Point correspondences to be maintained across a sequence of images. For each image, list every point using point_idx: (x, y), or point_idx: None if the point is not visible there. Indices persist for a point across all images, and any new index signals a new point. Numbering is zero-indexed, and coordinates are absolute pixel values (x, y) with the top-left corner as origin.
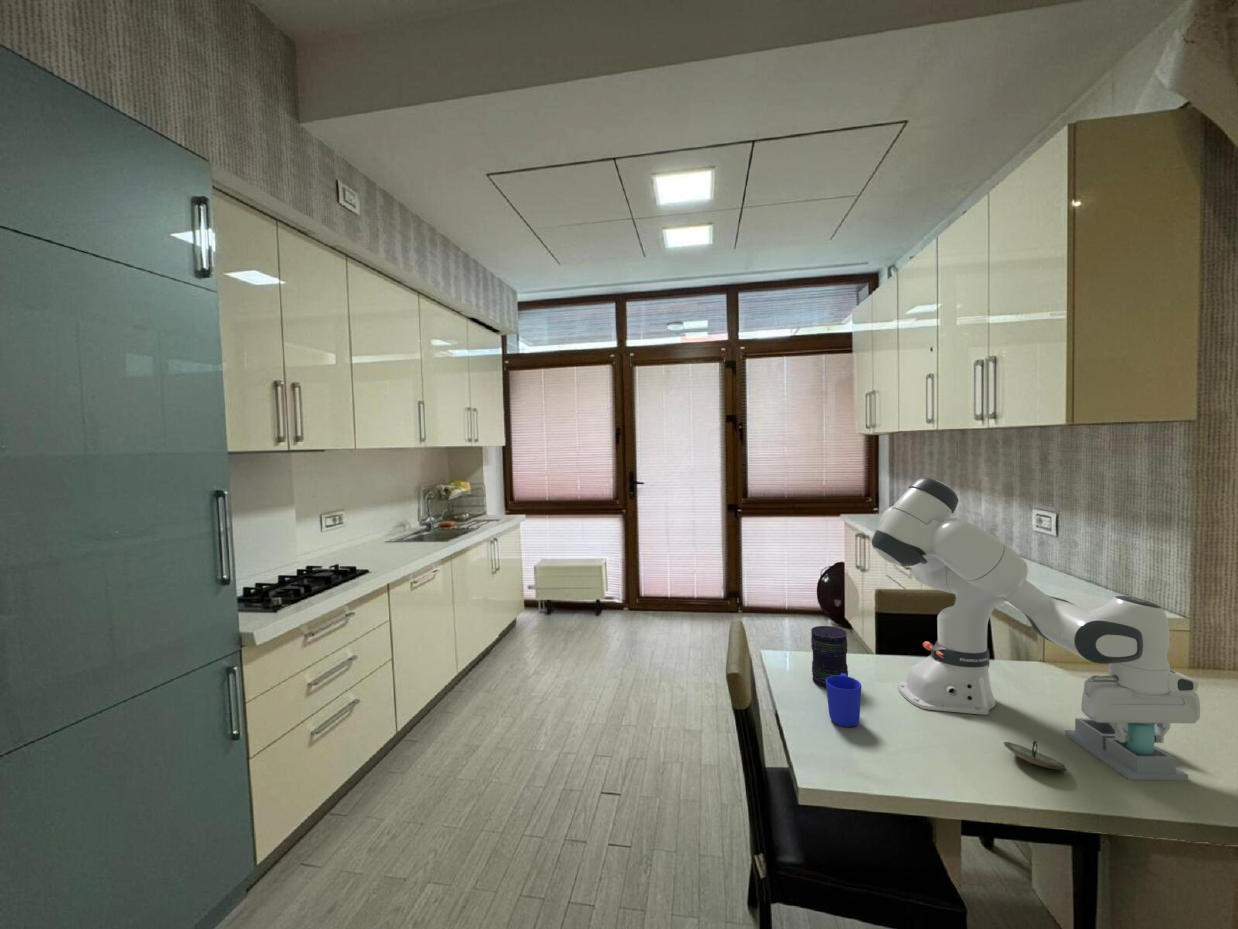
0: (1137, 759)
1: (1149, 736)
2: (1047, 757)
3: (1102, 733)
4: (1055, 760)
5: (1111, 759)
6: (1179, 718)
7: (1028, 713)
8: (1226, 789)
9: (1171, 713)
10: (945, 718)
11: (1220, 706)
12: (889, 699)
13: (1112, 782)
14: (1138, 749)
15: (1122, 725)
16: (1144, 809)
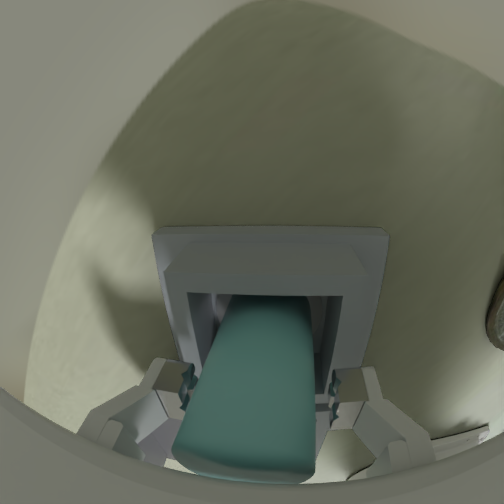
0: (363, 272)
1: (250, 390)
2: (496, 319)
3: (317, 420)
4: (496, 307)
5: (361, 323)
6: (22, 436)
7: (330, 459)
8: (89, 189)
9: (40, 485)
10: (488, 413)
11: (29, 398)
12: (494, 432)
13: (444, 214)
14: (303, 335)
15: (404, 450)
16: (457, 77)
